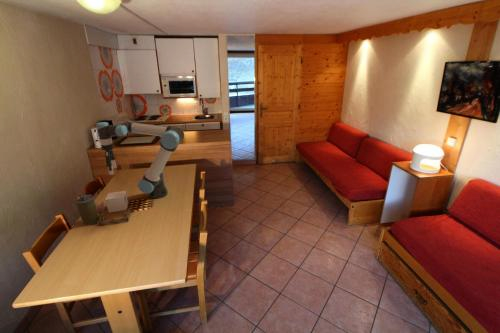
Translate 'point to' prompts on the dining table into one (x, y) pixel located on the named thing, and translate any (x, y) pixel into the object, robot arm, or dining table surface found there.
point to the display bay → (113, 221)
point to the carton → (116, 201)
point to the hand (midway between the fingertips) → (113, 171)
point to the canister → (87, 209)
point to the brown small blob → (100, 206)
